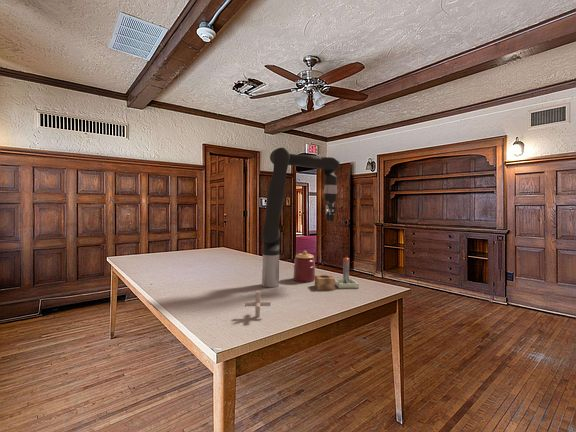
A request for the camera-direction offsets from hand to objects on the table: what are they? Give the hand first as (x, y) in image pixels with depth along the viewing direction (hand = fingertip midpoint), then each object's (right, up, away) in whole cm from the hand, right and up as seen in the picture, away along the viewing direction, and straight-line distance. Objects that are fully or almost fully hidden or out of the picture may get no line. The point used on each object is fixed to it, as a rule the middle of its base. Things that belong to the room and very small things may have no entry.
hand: (329, 221), depth 177 cm
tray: (+8, -36, -7) cm, 38 cm away
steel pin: (+8, -36, -7) cm, 37 cm away
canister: (-15, -36, +6) cm, 39 cm away
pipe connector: (-36, -37, -56) cm, 77 cm away
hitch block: (-4, -36, -11) cm, 38 cm away
